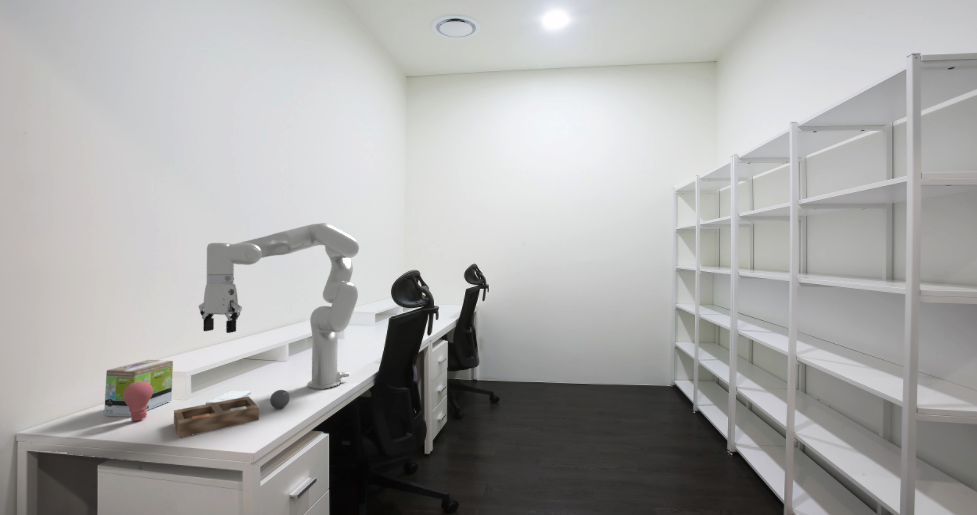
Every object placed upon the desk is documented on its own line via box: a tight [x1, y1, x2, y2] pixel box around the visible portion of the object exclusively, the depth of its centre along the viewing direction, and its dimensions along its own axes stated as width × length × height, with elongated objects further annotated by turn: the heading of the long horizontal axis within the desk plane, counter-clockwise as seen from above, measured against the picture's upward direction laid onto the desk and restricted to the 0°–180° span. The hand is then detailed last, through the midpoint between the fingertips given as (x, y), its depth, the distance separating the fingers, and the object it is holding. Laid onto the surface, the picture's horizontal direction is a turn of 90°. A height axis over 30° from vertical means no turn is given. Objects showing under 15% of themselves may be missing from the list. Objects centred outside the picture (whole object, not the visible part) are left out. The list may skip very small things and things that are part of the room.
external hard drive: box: [205, 390, 252, 404], centre depth 146 cm, size 2×8×12 cm
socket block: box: [173, 395, 260, 438], centre depth 126 cm, size 20×14×4 cm
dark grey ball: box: [269, 389, 291, 409], centre depth 138 cm, size 6×6×6 cm
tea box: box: [103, 359, 174, 418], centre depth 136 cm, size 15×10×15 cm
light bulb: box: [123, 381, 153, 421], centre depth 126 cm, size 7×7×12 cm
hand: (219, 331), depth 135 cm, fingers open, 9 cm apart
